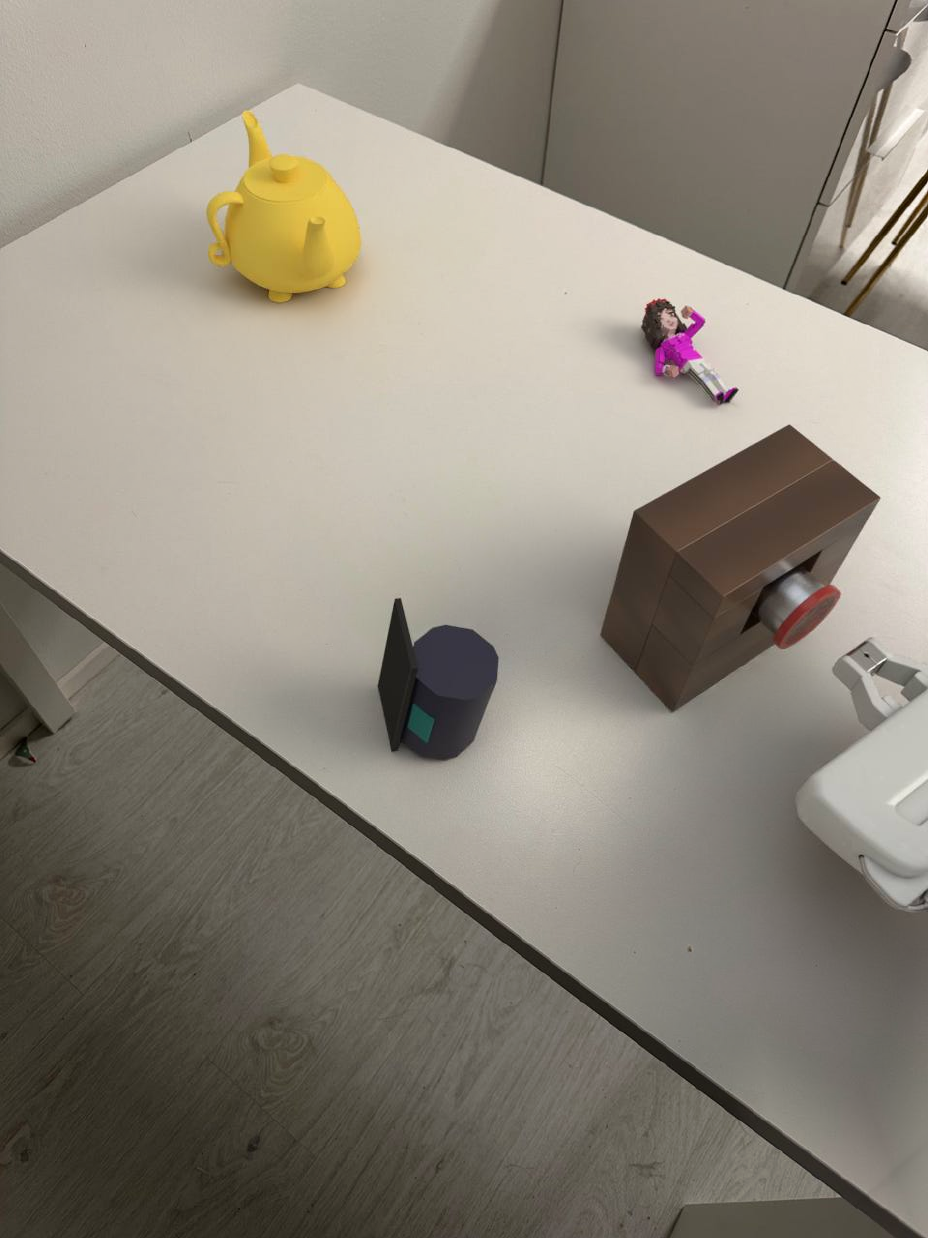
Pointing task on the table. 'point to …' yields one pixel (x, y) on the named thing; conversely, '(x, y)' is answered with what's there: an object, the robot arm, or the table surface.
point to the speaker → (435, 686)
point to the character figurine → (681, 348)
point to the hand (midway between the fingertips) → (850, 652)
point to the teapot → (285, 223)
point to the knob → (794, 605)
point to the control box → (727, 560)
